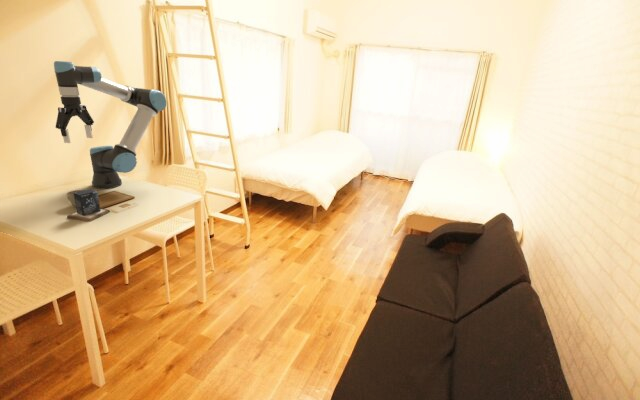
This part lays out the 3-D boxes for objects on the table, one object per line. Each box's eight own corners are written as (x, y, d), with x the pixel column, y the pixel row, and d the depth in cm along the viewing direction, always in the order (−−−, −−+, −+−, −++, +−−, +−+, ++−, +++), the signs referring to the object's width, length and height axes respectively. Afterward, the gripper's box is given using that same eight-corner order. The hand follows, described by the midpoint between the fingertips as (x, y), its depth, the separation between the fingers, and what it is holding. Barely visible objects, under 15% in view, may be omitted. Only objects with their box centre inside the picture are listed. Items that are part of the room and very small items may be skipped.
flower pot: (81, 210, 162) (78, 197, 160) (64, 208, 164) (61, 194, 161) (98, 204, 172) (95, 190, 169) (81, 201, 173) (78, 188, 171)
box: (83, 216, 154) (79, 194, 150) (76, 213, 156) (72, 192, 153) (101, 211, 160) (97, 190, 157) (94, 208, 163) (90, 188, 159)
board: (88, 208, 165) (88, 206, 165) (110, 211, 163) (109, 209, 163) (67, 218, 154) (66, 215, 153) (90, 221, 152) (89, 218, 152)
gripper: (83, 94, 171) (91, 135, 179) (38, 97, 148) (50, 144, 156) (97, 95, 170) (104, 136, 178) (53, 98, 147) (64, 145, 155)
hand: (79, 140), depth 167 cm, fingers open, 13 cm apart
